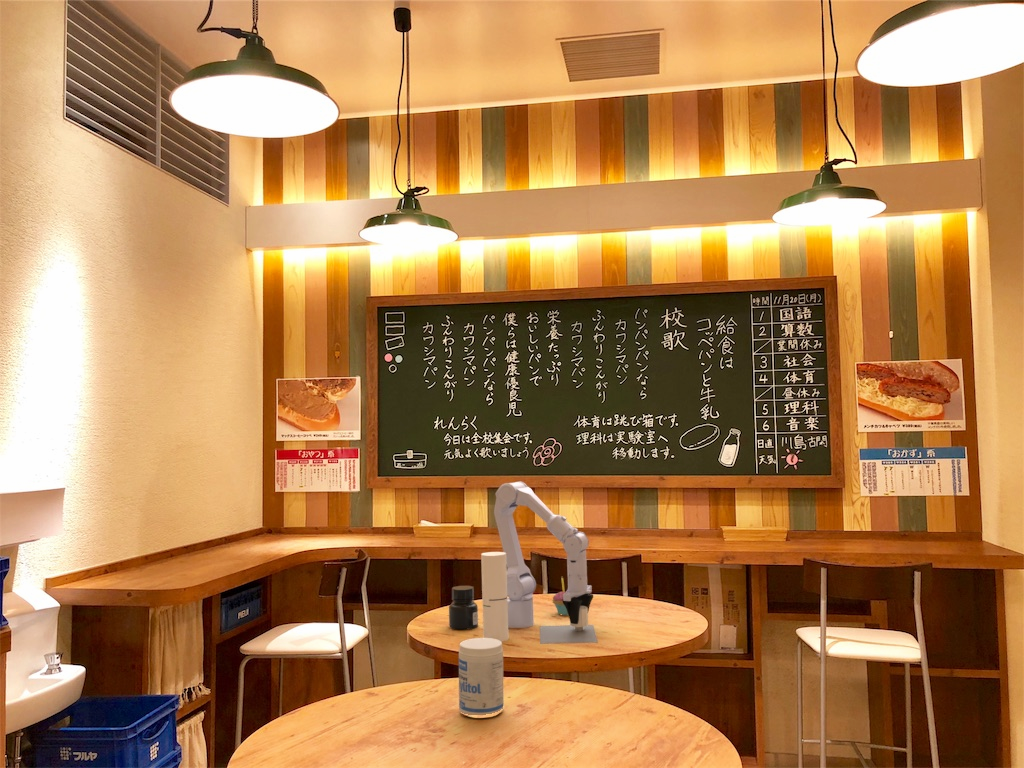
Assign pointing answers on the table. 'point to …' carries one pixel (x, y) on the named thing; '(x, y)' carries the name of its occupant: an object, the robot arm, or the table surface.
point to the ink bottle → (463, 609)
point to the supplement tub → (480, 676)
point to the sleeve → (582, 617)
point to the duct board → (567, 634)
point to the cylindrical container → (494, 595)
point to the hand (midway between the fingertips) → (578, 621)
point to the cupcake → (560, 601)
